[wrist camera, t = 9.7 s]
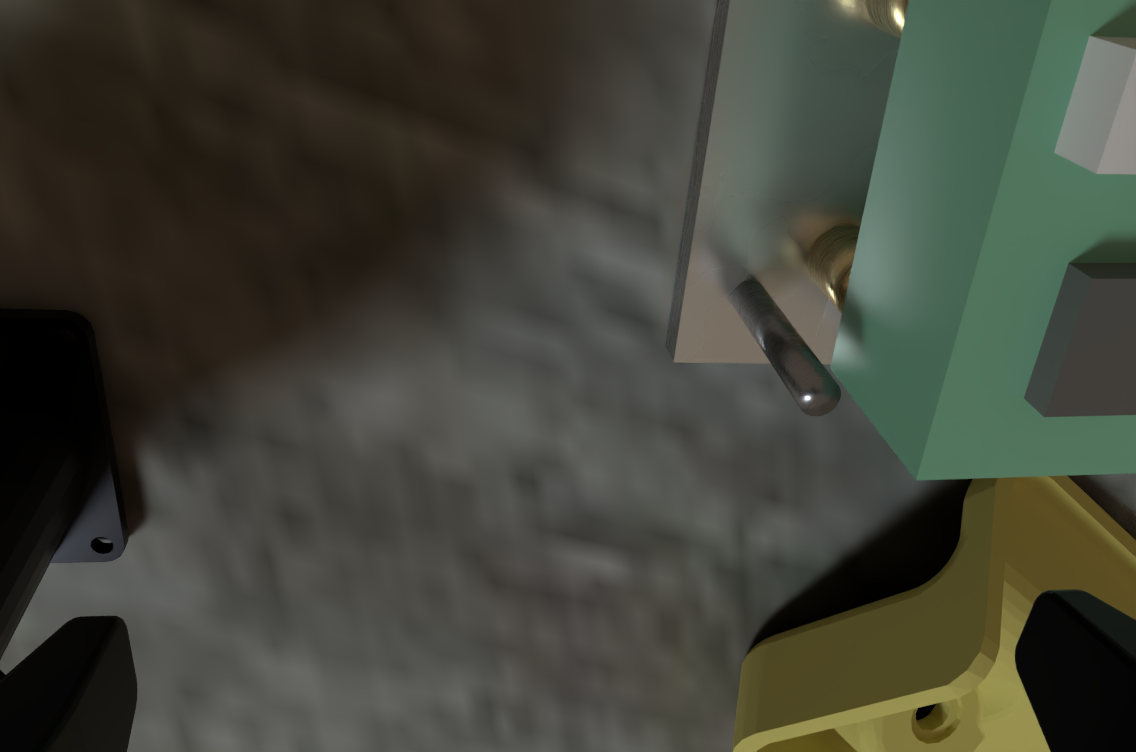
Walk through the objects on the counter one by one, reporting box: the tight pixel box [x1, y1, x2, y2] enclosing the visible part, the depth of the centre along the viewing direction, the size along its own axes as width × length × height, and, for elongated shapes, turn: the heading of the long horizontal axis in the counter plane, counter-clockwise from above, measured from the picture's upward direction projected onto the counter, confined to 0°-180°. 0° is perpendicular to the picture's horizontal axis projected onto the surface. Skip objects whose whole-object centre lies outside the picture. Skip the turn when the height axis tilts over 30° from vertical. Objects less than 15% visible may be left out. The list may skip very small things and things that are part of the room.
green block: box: [830, 0, 1136, 480], centre depth 16 cm, size 8×5×5 cm, turn 177°
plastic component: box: [732, 475, 1136, 752], centre depth 29 cm, size 20×7×10 cm
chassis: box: [666, 0, 909, 416], centre depth 19 cm, size 11×10×5 cm
